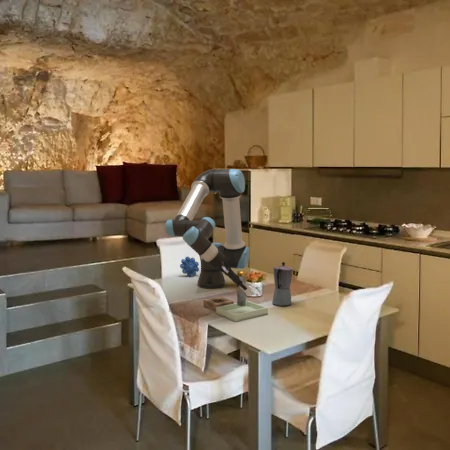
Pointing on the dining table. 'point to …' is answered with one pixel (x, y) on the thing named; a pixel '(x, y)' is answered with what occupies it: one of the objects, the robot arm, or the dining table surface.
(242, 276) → the grey bottle
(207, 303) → the socket block
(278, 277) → the moka pot
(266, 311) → the tray
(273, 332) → the dining table surface
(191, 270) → the grapes
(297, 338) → the dining table surface
